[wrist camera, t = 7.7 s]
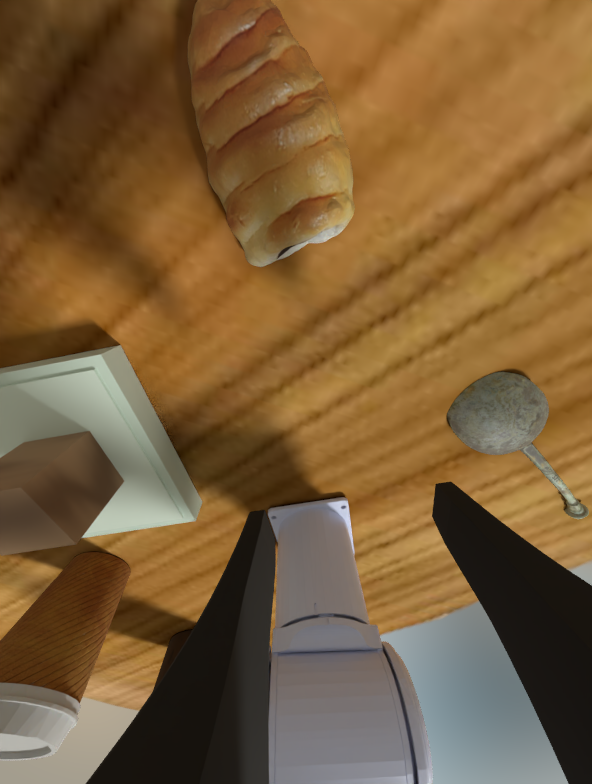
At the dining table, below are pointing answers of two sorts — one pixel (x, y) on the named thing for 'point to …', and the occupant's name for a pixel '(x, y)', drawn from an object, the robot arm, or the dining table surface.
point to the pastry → (267, 130)
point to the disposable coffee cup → (56, 655)
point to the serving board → (102, 432)
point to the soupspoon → (507, 423)
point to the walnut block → (53, 491)
